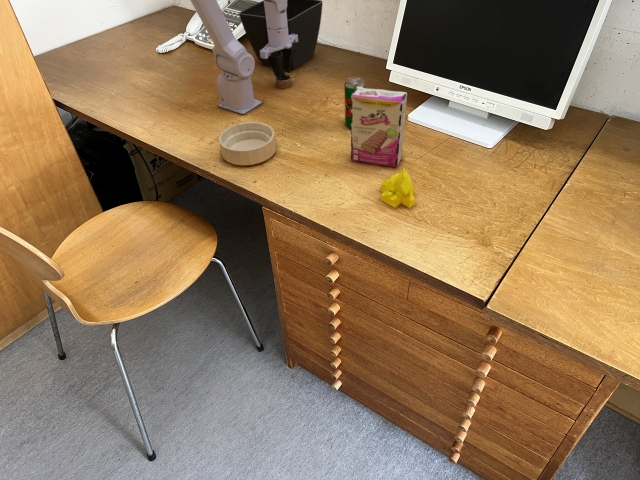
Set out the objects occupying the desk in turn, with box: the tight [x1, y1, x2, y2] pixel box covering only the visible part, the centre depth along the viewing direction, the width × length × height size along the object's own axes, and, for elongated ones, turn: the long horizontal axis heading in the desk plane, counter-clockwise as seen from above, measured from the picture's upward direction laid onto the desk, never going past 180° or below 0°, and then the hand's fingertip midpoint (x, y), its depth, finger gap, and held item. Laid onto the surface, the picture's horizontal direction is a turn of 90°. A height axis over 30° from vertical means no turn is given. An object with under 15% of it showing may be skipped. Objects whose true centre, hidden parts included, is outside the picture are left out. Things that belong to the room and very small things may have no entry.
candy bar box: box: [350, 86, 408, 168], centre depth 105 cm, size 11×5×16 cm, turn 71°
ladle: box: [275, 49, 292, 89], centre depth 138 cm, size 4×4×11 cm
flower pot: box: [238, 0, 323, 71], centre depth 149 cm, size 19×19×17 cm
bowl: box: [218, 121, 277, 166], centre depth 114 cm, size 13×13×4 cm
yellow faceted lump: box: [380, 168, 416, 209], centre depth 97 cm, size 6×8×8 cm
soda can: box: [343, 76, 366, 129], centre depth 119 cm, size 5×5×12 cm
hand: (282, 74), depth 140 cm, fingers open, 3 cm apart
